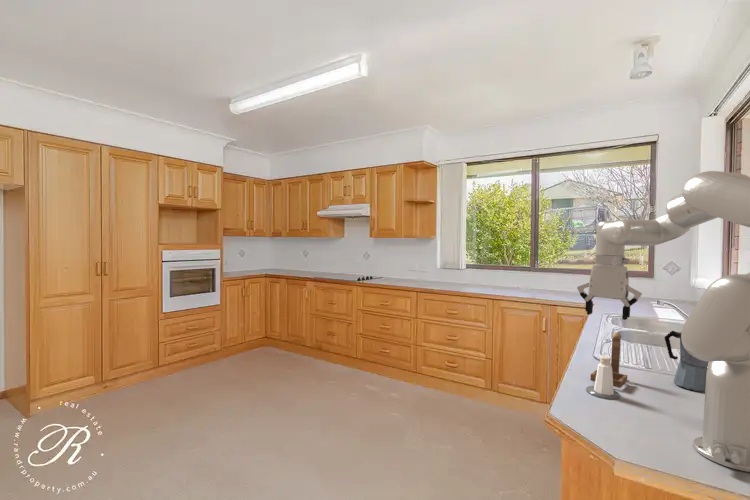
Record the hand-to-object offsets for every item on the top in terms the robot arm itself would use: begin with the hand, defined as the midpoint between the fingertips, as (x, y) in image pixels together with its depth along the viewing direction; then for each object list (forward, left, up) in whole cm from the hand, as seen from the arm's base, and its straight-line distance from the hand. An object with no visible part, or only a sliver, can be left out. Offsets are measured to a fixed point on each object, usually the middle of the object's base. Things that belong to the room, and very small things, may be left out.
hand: (606, 316), depth 118 cm
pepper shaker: (0, 0, -24) cm, 24 cm away
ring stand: (+13, +1, -24) cm, 28 cm away
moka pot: (+29, -18, -24) cm, 42 cm away
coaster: (0, 0, -24) cm, 24 cm away
